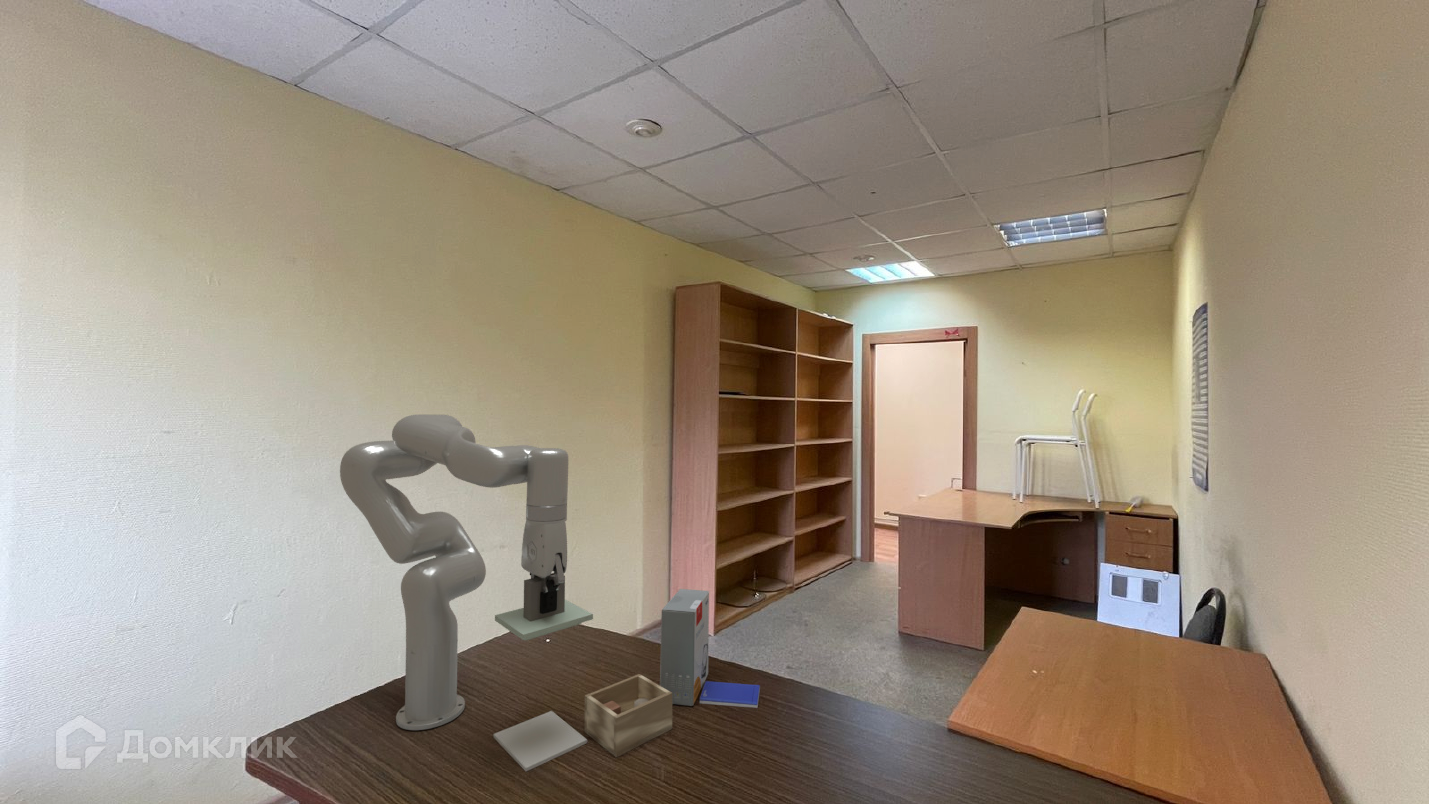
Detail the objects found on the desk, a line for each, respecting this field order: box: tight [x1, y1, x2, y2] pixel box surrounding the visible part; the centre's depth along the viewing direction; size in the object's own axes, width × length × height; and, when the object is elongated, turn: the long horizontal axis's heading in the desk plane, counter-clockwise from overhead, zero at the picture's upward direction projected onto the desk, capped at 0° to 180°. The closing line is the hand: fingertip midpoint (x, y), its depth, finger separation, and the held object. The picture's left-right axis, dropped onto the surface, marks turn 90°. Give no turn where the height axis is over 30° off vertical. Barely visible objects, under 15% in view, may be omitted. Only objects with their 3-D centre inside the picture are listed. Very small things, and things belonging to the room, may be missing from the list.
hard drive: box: [699, 680, 761, 709], centre depth 120 cm, size 2×8×12 cm
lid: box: [494, 575, 594, 641], centre depth 105 cm, size 12×14×9 cm
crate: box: [584, 673, 673, 758], centre depth 107 cm, size 11×13×7 cm
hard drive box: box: [659, 588, 710, 707], centre depth 124 cm, size 16×8×20 cm, turn 168°
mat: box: [493, 710, 588, 772], centre depth 104 cm, size 14×12×1 cm
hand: (543, 608), depth 105 cm, fingers closed on lid, 2 cm apart
